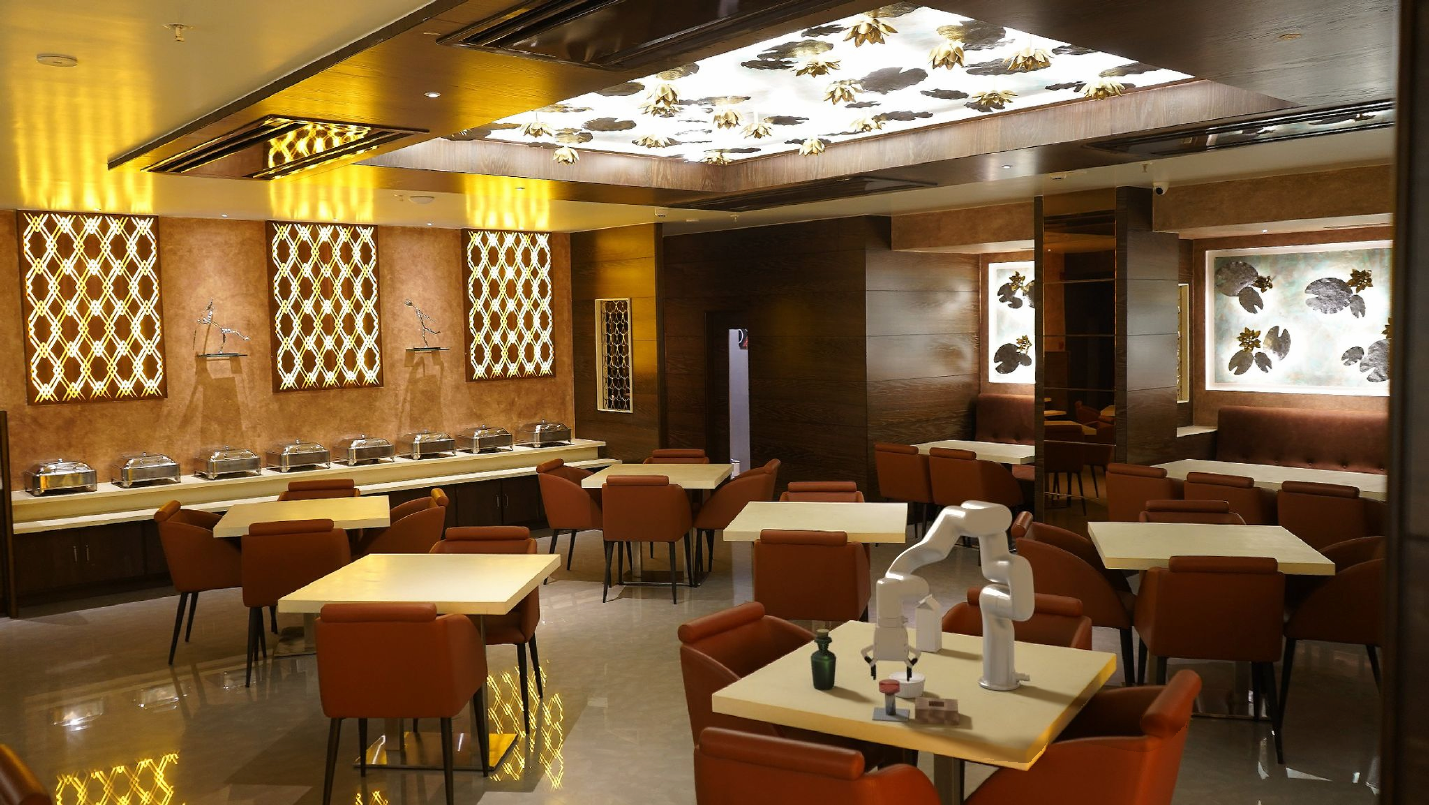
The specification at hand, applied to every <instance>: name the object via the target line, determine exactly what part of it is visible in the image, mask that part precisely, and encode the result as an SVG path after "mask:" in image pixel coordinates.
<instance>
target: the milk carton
mask: <svg viewBox="0 0 1429 805" xmlns="http://www.w3.org/2000/svg"><path fill="white" fill-rule="evenodd" d="M918 603H919V605H918V606H916V607H915V649H917V650H919V651H921V652H930V653H937V652H938V651H939V650H941V649H942V648H943V633H942V632H943V627H942V626H943V624H942V623H943V621H942V619H943V618H942V617H943V616H942V612H943V609H942V605H941V604H940V603H939V602H938V601H937V600H936V599H935V598H934V597H933V594H930V595H929V594H928V595H927V596H926V597H925V598H924V599H923V600H921V601H919V602H918Z"/></svg>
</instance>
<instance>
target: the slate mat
mask: <svg viewBox="0 0 1429 805" xmlns="http://www.w3.org/2000/svg"><path fill="white" fill-rule="evenodd" d="M873 708H874V709H873V713H872V714H873V715H872V719H871V720H872V721H880V722H881V721H883V722H884V721H885V722H898V723H899V722H902V723H908V722H909V714H910V709H909V708H897V707H896V715H886V709H885V707H880V706H879V707H875V706H874V707H873Z"/></svg>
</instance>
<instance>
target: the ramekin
mask: <svg viewBox="0 0 1429 805" xmlns="http://www.w3.org/2000/svg"><path fill="white" fill-rule="evenodd" d="M888 679H893V680H898V681H899V682H900V692H898V693H895V697H898V698H903V699H914V698H915V699H916V697H921V696H922V695H923V693H924V688H925V682H926V677H925V675H923V674H922V673H918V672H913V671H912V678H910V680H909V682H908V681H907V671H896V672H892V673H891V674H890V675H888Z"/></svg>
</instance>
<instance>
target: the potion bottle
mask: <svg viewBox="0 0 1429 805" xmlns="http://www.w3.org/2000/svg"><path fill="white" fill-rule="evenodd" d="M816 633H817V636H815V637H814V640H813V642H814V643H815V644H817V648H818V650H816V651H813V652H812V653H811V655H810V658H809V659H810V664H811V676H812V686H813V687H814V688H815V689H816V690H819V691H820V690H821V691H827V690H831V689H833V688H835V680H836V669H837V668H836V666H837V656H836V654H835V653H834V652H832V651H831V650H830V649H829V645H830V644H831V643H833V639H832V637H831V636H829V633H830V630H829V629H826V628H824V629H823V628H820V629H817V630H816Z"/></svg>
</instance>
